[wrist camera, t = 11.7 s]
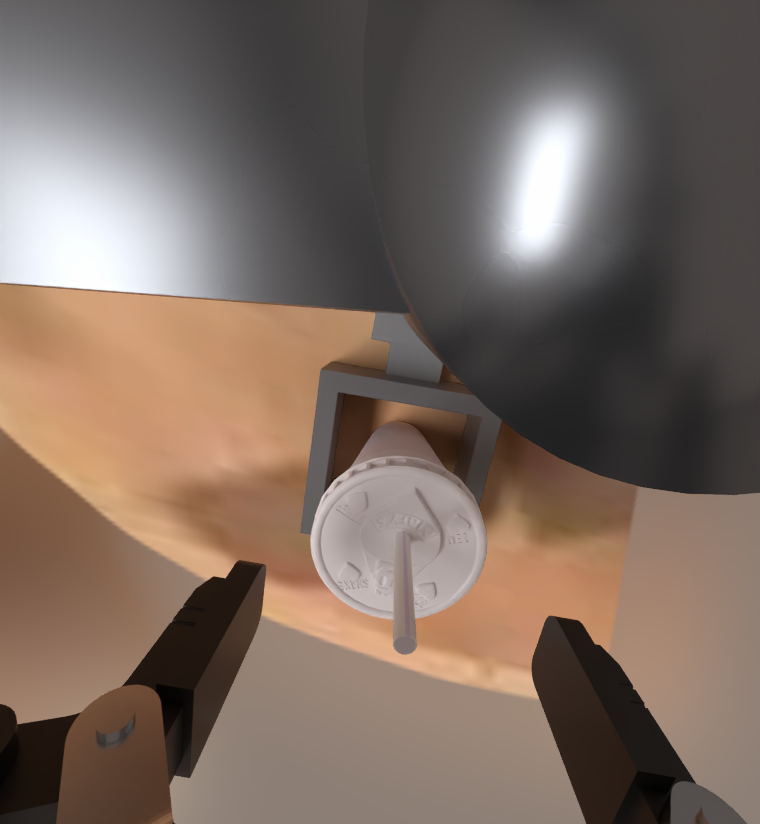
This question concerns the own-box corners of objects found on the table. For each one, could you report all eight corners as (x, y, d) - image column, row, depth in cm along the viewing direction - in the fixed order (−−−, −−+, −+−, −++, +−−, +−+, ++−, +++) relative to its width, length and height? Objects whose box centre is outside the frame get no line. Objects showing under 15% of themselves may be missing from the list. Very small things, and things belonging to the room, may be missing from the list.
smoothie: (462, 414, 21) (579, 583, 8) (433, 508, 23) (487, 782, 10) (357, 388, 21) (289, 515, 8) (335, 484, 23) (248, 729, 9)
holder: (347, 234, 19) (163, -80, 4) (523, 265, 19) (1011, 71, 4) (312, 505, 23) (156, 858, 8) (455, 530, 23) (566, 928, 8)
